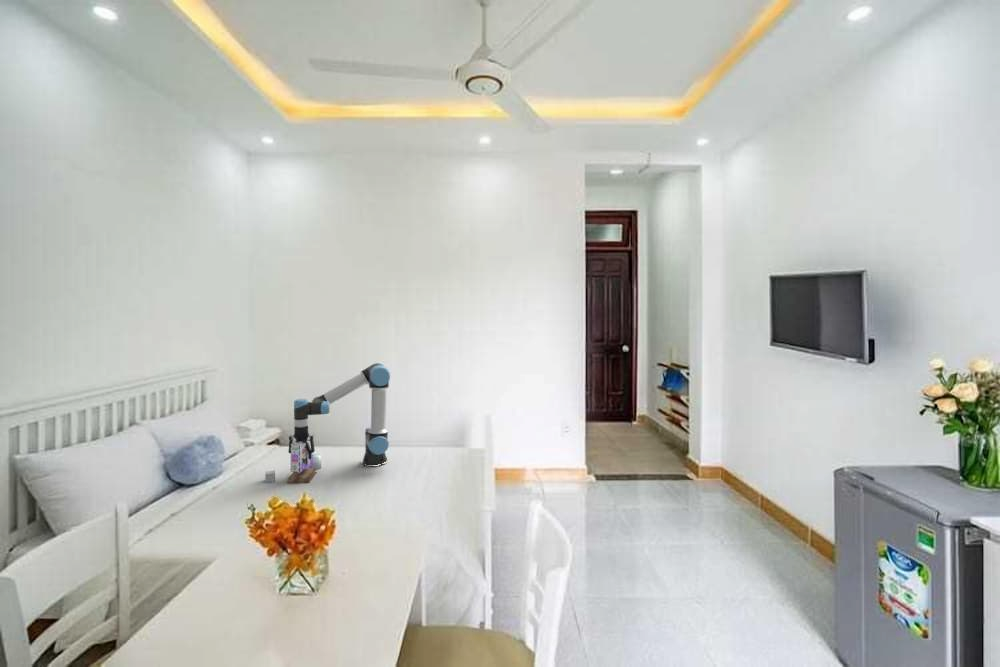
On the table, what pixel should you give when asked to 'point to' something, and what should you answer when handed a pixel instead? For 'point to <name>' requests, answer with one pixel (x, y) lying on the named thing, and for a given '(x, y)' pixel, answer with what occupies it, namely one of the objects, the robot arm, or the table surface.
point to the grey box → (270, 476)
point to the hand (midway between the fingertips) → (301, 464)
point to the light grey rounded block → (316, 461)
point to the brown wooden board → (302, 476)
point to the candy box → (300, 457)
